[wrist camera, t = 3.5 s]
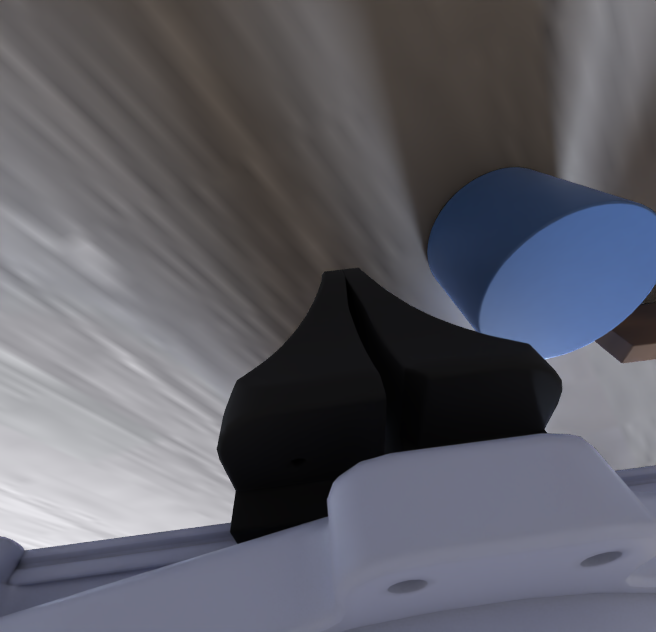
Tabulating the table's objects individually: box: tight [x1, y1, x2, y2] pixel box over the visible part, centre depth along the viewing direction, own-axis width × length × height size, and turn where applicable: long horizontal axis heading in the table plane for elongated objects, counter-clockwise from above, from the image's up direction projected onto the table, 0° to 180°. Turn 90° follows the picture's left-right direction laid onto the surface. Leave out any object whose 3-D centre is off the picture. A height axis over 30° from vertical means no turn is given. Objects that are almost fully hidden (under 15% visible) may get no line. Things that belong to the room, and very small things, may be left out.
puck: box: [427, 167, 656, 359], centre depth 12 cm, size 6×6×5 cm
